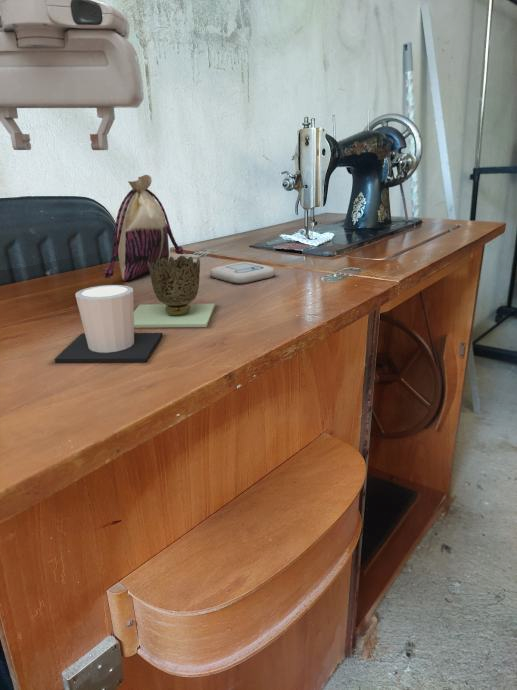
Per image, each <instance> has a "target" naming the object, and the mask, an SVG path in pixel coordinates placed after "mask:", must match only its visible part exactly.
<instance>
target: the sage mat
mask: <svg viewBox="0 0 517 690" xmlns="http://www.w3.org/2000/svg"><path fill="white" fill-rule="evenodd" d="M189 305H190V311H189V312H188V313H187V314H185V315H181V316H172V315H169V314H168V313H167V312H166V310H165V308H166V305H165V304H163V303H160V304H159V303H158V304H157V303H154V304H153V303H151V304H146V303H145V304H143V303H141V304H139V305H138V306H137V307H136V308H135V310H134V329H151V328H152V329H155V328H158V329H159V328H160V329H161V328H164V329H165V328H168V329H169V328H207V327H208V325H209V324H210V323H209V322H210V320H211V318H212V315H213V313H214V310H215V308H216V303H189Z"/></svg>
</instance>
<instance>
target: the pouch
mask: <svg viewBox="0 0 517 690" xmlns="http://www.w3.org/2000/svg"><path fill="white" fill-rule="evenodd" d="M137 178H138V179H137V180H134V181H129V180H128V181H127V182H128V184H129V186H130V187H131V190H130V191H129V192H128V193H127V194H126V195H125V197H124V198H123V200H122V202H121V204H120V206H119V208H118V211H117V215H116V219H115V227H114V238H113V239H114V240H113V246H112V252H111V257H110V261H109V264H108V267H105V268H104V269H103V274H104V277H103V278H104V279H111V277H113V275H114V273H115V270H114V267H115V263H116V260H117V256H118V265H119V271H120V275H121V279H122V281H124V282H129V281H132V280H134V279H135V278H138V277H140V276H142V275H144V274H147V273H150V271H149V266H148V262H149V263H150V264H151V260H152V261H153V263H154V264H155V262H156V260H157V258H158V259H159V260H160V259H162V258H165V259H166V260H167V261H168V262H169V258H170V246H169V245H170V243H169V240H170V242H171V243H172V245H173V247H174V252H175V253H176V254H177V255H184V252H183V251H184V249H183V246H181V245H180V246H179V245H178V243H177V242H176V239H175V237H174V234H173V232H172V229H171V225H170V222H169V219H168V218H169V217H168V216H167V212H166V210H165V208H164V205H163V204H162V202H161V200H160V199H159V198H158V197H157V196H156V194H155V193H153V192H152V191H151V190H150V189H149V188H150V186H151V184H152V181H153V178H152V176H150V175H149V174H143V175H142V176H138V177H137Z"/></svg>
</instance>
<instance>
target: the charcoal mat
mask: <svg viewBox="0 0 517 690" xmlns="http://www.w3.org/2000/svg"><path fill="white" fill-rule="evenodd" d="M162 338H163V332H134V344H133V345H132V346H131V347H129V348H127V349H124V350H121V351H117V352H108V353H103V352H95V351H92V350H90V349H89V347H88V343H87V339H86V335H85V332H84V333H83V332H82V333H80V334H79V335H77V337H76V338H75V339H74V340H73V341H72V342H70V344H68V346H67V347H65V349H63V350H62V351H61V352H60V353H59V354H58V355H57V356H56V357H55V358H54V363H55V364H56V363H59V364H60V363H64V364H65V363H147V362H148V360H149V358H150V357H151V355H152V354H153V352H154V350H155V349H156V348H157V346H158V344H159V342H160V341H161V339H162Z"/></svg>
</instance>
